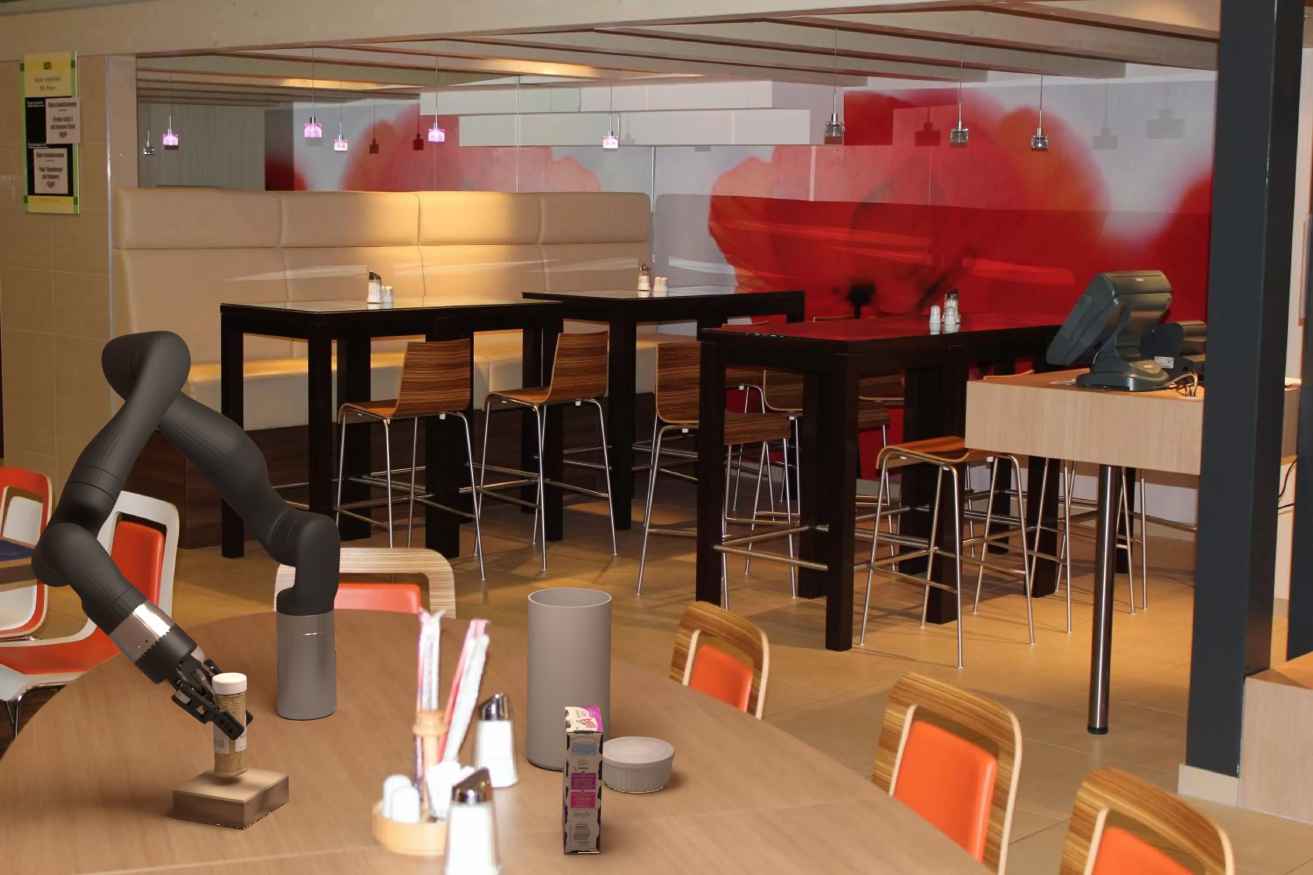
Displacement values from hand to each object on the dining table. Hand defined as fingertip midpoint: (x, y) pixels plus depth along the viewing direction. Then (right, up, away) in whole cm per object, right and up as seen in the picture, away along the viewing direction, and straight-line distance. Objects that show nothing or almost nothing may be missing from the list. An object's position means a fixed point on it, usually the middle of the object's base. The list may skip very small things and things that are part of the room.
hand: (244, 728), depth 210 cm
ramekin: (+53, -11, +15) cm, 56 cm away
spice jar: (-2, -6, +1) cm, 7 cm away
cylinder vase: (+43, -9, +25) cm, 50 cm away
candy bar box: (+46, -13, -6) cm, 48 cm away
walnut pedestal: (-2, -11, +1) cm, 12 cm away
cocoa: (-26, -3, +59) cm, 65 cm away
